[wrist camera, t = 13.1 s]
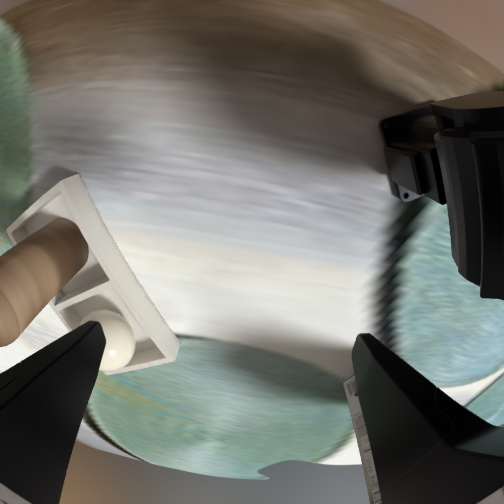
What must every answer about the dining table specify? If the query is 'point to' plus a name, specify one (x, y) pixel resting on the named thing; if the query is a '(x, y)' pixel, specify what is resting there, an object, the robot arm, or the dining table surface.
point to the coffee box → (362, 441)
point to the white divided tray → (99, 275)
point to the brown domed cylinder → (37, 274)
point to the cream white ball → (114, 339)
